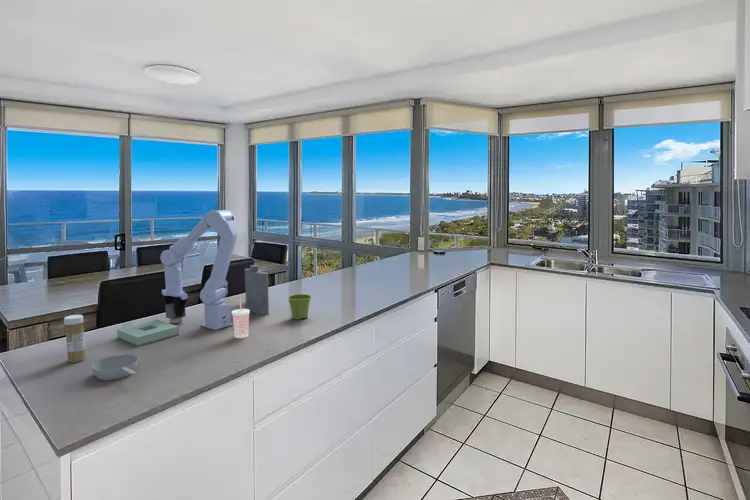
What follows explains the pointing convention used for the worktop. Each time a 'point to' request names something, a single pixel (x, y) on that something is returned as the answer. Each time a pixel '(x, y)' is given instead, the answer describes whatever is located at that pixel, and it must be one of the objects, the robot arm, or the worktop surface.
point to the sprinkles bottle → (75, 338)
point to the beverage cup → (241, 322)
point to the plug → (173, 313)
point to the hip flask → (256, 290)
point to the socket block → (147, 332)
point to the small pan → (115, 367)
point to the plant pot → (299, 305)
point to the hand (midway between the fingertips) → (175, 315)
